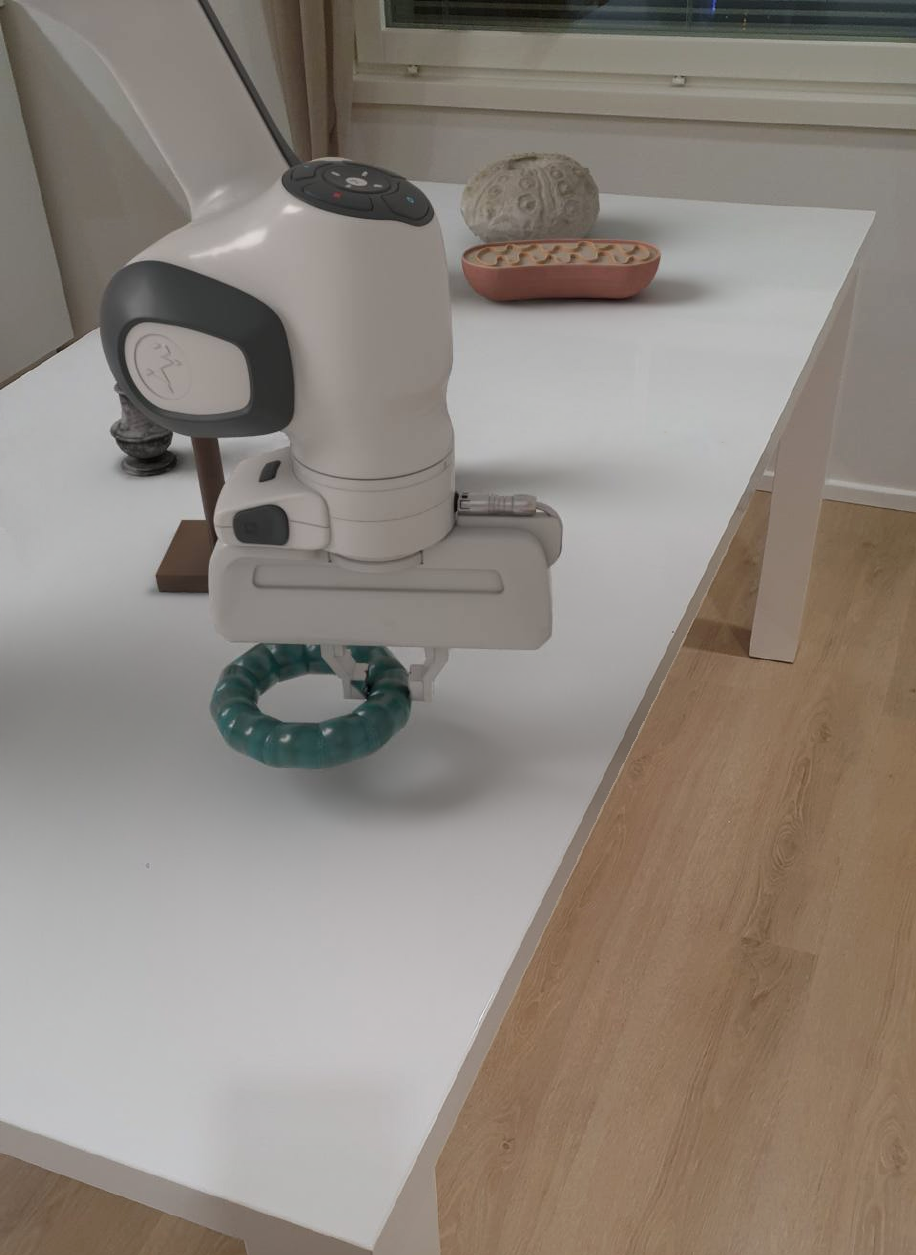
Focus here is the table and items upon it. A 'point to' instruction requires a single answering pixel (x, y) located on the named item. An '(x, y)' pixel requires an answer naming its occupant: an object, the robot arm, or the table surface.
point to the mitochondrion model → (560, 268)
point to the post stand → (195, 528)
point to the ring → (300, 739)
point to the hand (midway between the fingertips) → (389, 695)
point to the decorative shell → (531, 199)
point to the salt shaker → (142, 441)
